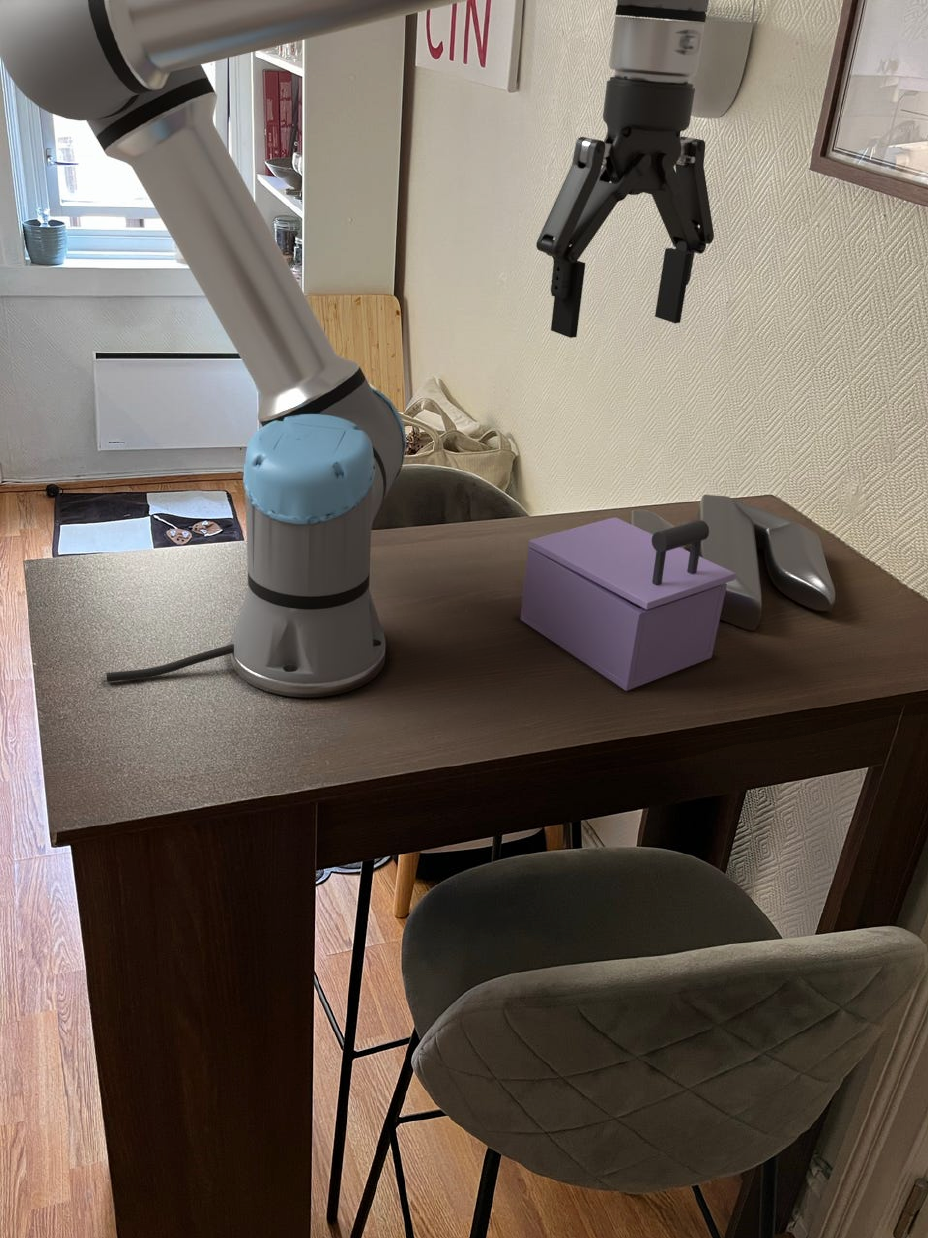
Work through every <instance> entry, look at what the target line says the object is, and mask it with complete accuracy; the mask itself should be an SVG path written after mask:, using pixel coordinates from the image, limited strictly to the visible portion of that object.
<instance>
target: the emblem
mask: <svg viewBox="0 0 928 1238" xmlns="http://www.w3.org/2000/svg"><path fill="white" fill-rule="evenodd" d="M698 520H702V521H704V522H705V523H706V524H707V525H708V527H709V535H708V537H707V538H706V539H705V540H702V541H701V547H700V553H699V556H700V557H702V558H704V559H706V560H708V561H710V562H712V563H715V564H717V565H719V566H721V567H723V568H725V569H727V570H730V571H732V572H734V573H736V575H735V580H733V581H730V582H727V583H726V584H727V587H726V591H725V596H724V601H723V606H722V610H721V615H720V620H721V621H723V622H725V623H729V624H731V625H733V626H736V627H739V628H741V629H743V630H747V631H754V630H756V629H757V627H758V625H759V624H760V620H761V616H762V613H763V612H762V610H763V596H762V587H761V578H760V569H759V566H760V565H759V559H758V550H763V554H764V560H765V566H766V569H767V573H768V576H769V578H770V581H771V582H772V583H773V585H774V586H775V587H776V589H777V590H778V591H779V592H781V593H782V594H783V595H785V596H786V597H788V598H790V599H791V600H793V601H794V602H796V603H798V604H799V605H802V606H804V607H807V608H809V609H811V610H815V611H819V612H828V613H832V611H833V609H834V606H835V601H836V590H835V586H834V582H833V580H832V577H831V574H830V570H829V568H828V565H827V562H826V558H825V554H824V550H823V547H822V543H821V540H820V537H819V535H818V534H817V533H815V532H814V531H812V530H810V529H809V528H807V527H805V526H804V525H802V524H800V523H798V522H797V521H794V520H791V519H788V518H786V517H783V516H780V515H778V514H775V513H772V512H771V511H768V510H765V509H762V508H759V507H757V506H753V505H751V504H750V503H749V504H748V503H747V502H744V501H741V500H738V499H736V498H733V497H730V496H727V495H716V494H715V495H713V494H703V495H702V497H701V498H700V501H699V505H698V510H697V517H696V521H698ZM629 524H631V525H633V526H635V527H638V528H640V529H642V530H644V531H646V532H648V533H650V534H653V535H654V533H656V532H659V531H663V530H666V529H670V528H673V527H676V526H675V525H673V524H672V523H670V522H669V521H667V520H665V519H664V518H663V517H661V516H660V515H658V514H657V513H655V512H652V511H650V510H646V509H632V511H631V515H630V521H629ZM680 548H683V549H685V550H686V545H685V546H682V547H680ZM720 620H719V621H720Z"/></svg>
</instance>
